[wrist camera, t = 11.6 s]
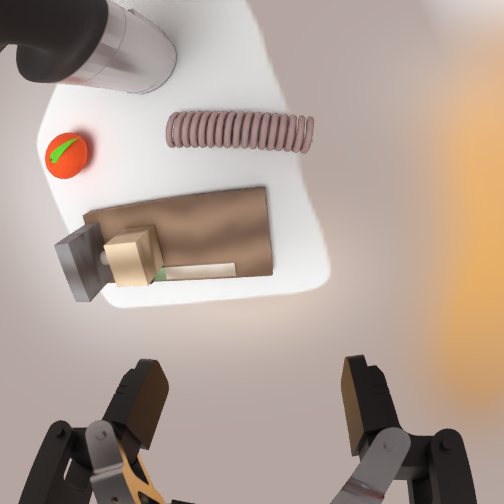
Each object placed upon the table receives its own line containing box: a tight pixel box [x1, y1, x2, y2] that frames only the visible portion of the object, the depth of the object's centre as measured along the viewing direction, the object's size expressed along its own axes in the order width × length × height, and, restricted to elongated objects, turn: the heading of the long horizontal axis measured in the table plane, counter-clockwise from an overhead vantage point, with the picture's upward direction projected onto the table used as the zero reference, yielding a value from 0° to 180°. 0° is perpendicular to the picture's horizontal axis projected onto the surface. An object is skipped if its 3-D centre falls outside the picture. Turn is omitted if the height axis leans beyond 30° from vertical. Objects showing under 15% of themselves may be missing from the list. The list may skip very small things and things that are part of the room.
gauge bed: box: [55, 187, 273, 302], centre depth 35 cm, size 12×28×10 cm, turn 97°
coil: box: [166, 111, 314, 153], centre depth 31 cm, size 5×5×18 cm
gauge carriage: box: [100, 225, 164, 286], centre depth 36 cm, size 8×8×6 cm
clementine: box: [45, 133, 88, 179], centre depth 31 cm, size 8×7×7 cm
